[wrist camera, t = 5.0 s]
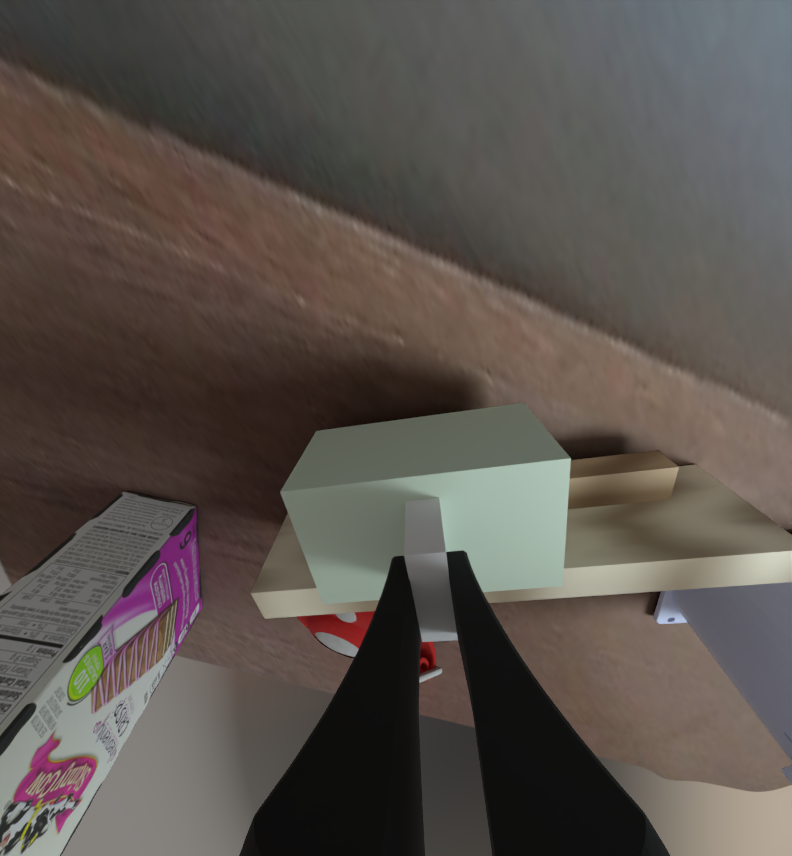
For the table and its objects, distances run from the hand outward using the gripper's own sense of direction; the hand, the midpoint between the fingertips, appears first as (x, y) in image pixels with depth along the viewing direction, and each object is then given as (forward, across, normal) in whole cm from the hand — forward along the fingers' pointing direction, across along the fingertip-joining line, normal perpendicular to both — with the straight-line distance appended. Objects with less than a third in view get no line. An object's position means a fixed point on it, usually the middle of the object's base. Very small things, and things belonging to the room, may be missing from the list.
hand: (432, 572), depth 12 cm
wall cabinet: (+6, 0, 0) cm, 6 cm away
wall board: (+8, -3, +4) cm, 10 cm away
